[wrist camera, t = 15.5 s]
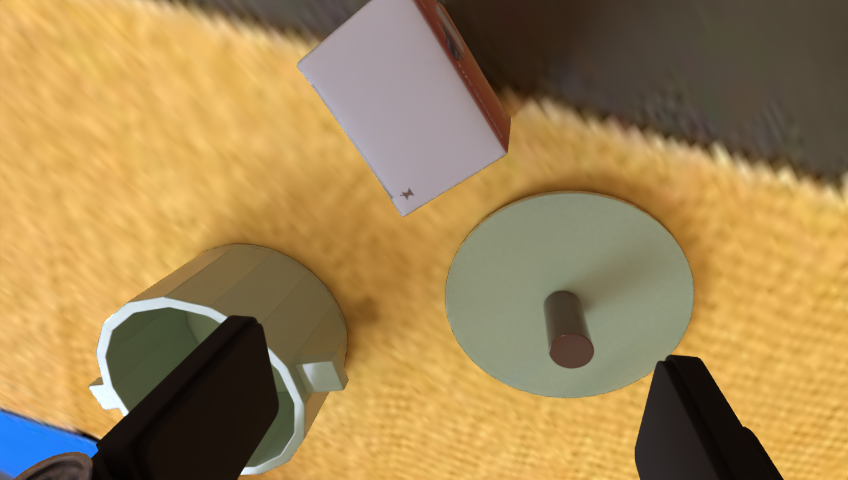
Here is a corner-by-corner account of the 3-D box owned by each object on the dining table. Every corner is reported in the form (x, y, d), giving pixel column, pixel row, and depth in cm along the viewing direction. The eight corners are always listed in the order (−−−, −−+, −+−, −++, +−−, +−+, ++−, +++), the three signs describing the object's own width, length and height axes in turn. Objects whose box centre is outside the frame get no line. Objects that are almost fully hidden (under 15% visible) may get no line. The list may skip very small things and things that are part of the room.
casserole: (126, 264, 37) (28, 319, 30) (341, 221, 32) (288, 275, 24) (203, 401, 43) (137, 477, 35) (399, 385, 37) (370, 471, 30)
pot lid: (422, 213, 30) (402, 249, 25) (682, 162, 26) (729, 193, 20) (472, 394, 36) (466, 457, 31) (692, 378, 32) (731, 448, 26)
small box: (512, 120, 27) (513, 158, 17) (438, 166, 29) (403, 222, 19) (442, 0, 25) (400, -31, 15) (369, 59, 27) (291, 63, 17)
